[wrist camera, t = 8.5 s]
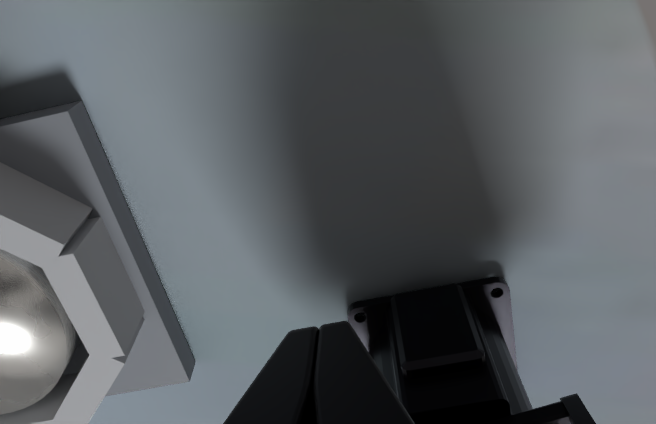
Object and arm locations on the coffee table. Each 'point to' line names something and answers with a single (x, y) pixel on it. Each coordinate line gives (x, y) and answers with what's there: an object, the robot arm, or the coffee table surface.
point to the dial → (30, 334)
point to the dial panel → (85, 264)
